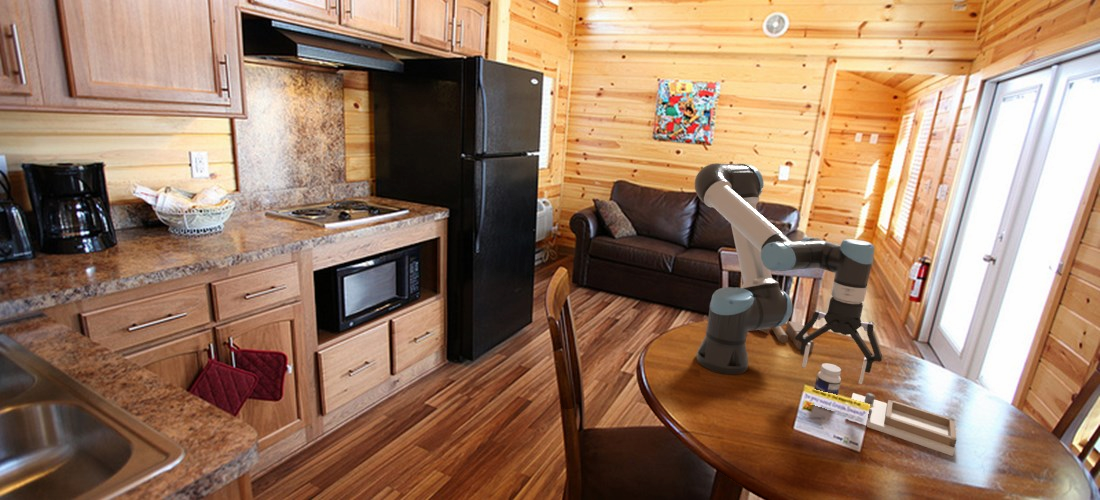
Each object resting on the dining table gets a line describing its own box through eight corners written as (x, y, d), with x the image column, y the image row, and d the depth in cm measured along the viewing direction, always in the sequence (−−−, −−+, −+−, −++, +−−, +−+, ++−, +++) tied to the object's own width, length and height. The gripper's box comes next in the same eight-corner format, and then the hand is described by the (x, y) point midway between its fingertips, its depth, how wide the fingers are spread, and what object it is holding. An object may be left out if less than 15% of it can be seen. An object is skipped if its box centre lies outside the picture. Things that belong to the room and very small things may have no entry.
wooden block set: (800, 319, 182) (816, 339, 165) (797, 333, 184) (812, 355, 166) (752, 312, 185) (762, 332, 168) (749, 327, 186) (759, 347, 169)
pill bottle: (808, 394, 140) (815, 361, 138) (827, 394, 141) (834, 362, 138) (820, 405, 135) (828, 372, 132) (840, 405, 135) (848, 372, 133)
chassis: (845, 419, 129) (848, 407, 128) (851, 397, 140) (854, 386, 139) (952, 456, 116) (956, 443, 116) (950, 429, 127) (954, 416, 127)
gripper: (792, 291, 134) (779, 364, 139) (904, 315, 120) (885, 395, 125) (797, 285, 140) (785, 355, 145) (905, 307, 126) (887, 384, 131)
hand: (831, 373), depth 135 cm, fingers open, 13 cm apart
